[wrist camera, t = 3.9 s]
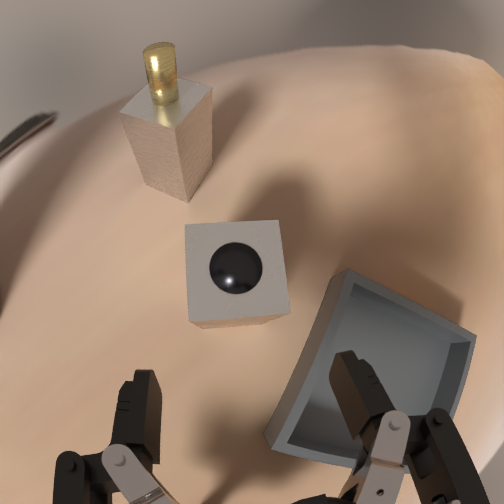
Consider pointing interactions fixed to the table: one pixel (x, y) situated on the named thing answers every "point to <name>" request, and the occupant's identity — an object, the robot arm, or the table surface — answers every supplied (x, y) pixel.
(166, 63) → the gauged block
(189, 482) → the table surface
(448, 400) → the tray
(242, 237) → the block
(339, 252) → the table surface
